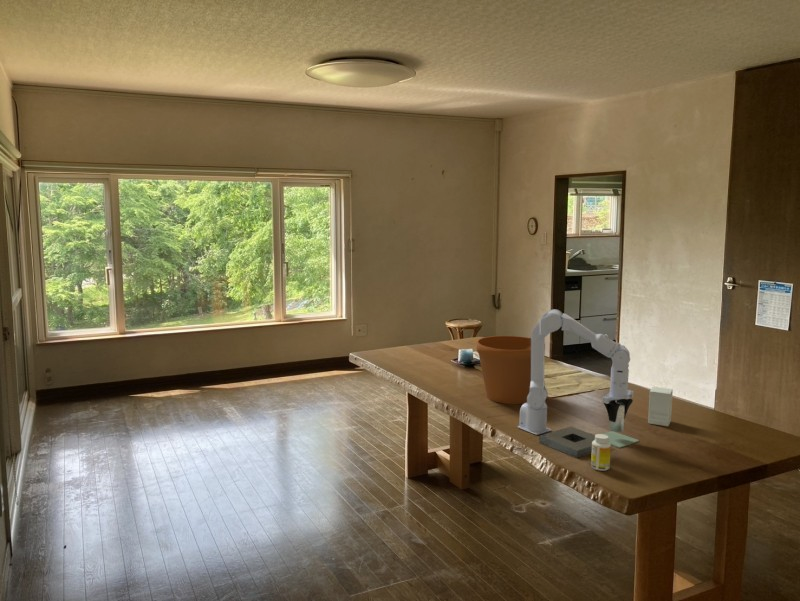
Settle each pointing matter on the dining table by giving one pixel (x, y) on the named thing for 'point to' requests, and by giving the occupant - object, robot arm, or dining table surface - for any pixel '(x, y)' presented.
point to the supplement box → (660, 406)
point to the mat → (619, 439)
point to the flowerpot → (506, 367)
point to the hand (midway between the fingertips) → (616, 419)
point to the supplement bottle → (601, 453)
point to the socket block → (569, 441)
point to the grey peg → (618, 419)
